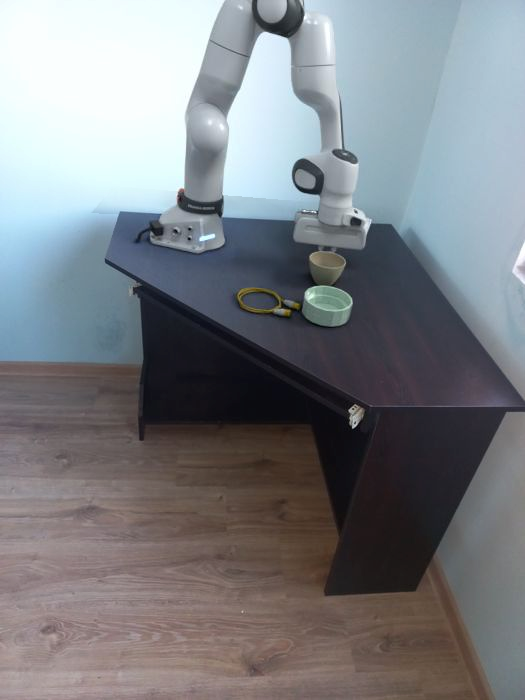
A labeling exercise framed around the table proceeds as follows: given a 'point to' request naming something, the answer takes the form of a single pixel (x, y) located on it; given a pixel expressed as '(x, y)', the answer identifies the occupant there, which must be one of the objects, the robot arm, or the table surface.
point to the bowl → (327, 306)
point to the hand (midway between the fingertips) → (325, 258)
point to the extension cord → (275, 311)
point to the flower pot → (326, 267)
